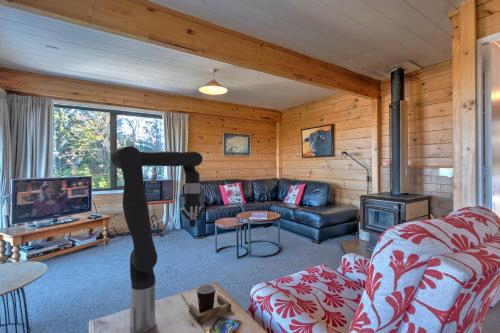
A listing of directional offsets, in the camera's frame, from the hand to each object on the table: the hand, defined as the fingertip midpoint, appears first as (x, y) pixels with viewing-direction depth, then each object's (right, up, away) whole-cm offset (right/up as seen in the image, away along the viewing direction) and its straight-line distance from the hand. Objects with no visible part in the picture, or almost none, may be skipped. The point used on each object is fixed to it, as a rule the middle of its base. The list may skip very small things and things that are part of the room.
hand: (192, 227), depth 122 cm
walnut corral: (+11, -37, -9) cm, 39 cm away
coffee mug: (+8, -37, -7) cm, 39 cm away
